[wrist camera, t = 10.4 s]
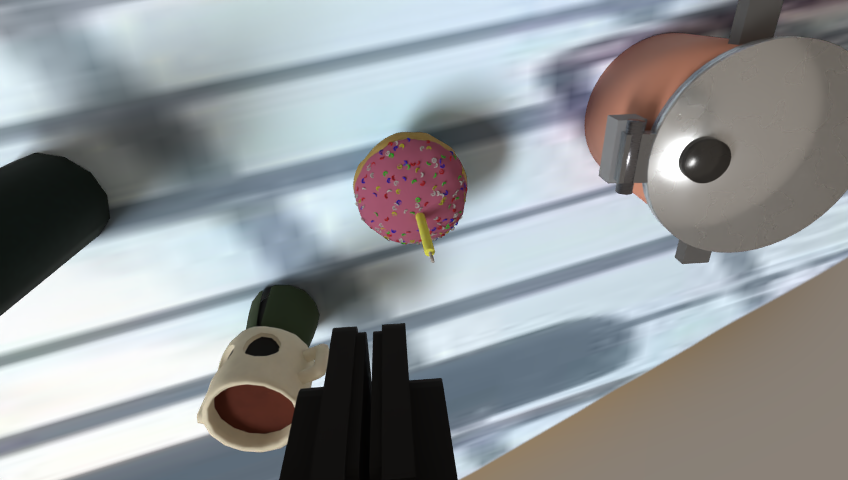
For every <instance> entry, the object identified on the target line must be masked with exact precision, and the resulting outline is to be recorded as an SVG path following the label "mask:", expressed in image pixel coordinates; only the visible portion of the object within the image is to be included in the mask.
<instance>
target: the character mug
mask: <svg viewBox="0 0 848 480" xmlns="http://www.w3.org/2000/svg"><path fill="white" fill-rule="evenodd" d="M262 293H263V291H261V292H259V294H258V295H257V296H256V298H255V299H254V300H253V301H252V305H251V308H250V312H249V316H248V321H247V327H246V330H244V331H242V332H241V333H240V334H239V335H238V336H237V337H235V338H234V339H233V340H232V341H231V342H230V344H229V345H228V347H227V348H226V350H225V352H224V353H223V356H222V358H221V361H220V363H219V368H218V371H217V373H216V374H215V376H214V377H213V379H212V380H211V383H210V386H209V389H208V392H207V394H206V396H205V398H204V400H203V403H202V405H201V407H200V409H199V412H198V414H197V421H198V423H201V424H204V425H205V427H206V428H207V430H208V432H209V433H210V435H211V436H213V437H214V438H215V439H217V440H218V441H220V442H221V443H222V444H224V445H226V446H229V447H232V448H235V449H238V450H241V451H250V452H266V451H270V450H275V449H280V448H282V447H283V446H285V445H287V442H288V437H289V432H290V428H291V423H292V418H293V414H294V409H295V404H296V400H297V396H298V392H299V390H300V389H303V388H311V384H312V381H314V380H316V379H319V378H320V377H322V376H324V375H325V373H326V369H327V363H328V356H329V348H328V345H326V344H319V345H317V346H314V347H312V348H309V346H310V344H311V341H312V339H313V337H314V334H315V331H316V328H317V325H318V320H319V312H318V309H317V306H316V304H315V302H314V301H313V300H312V299H311V297H310V296H309V295H308V294H307V293H306V292H305V291H303V290H301V289H298V288H296V287H293V286H290V285H275V286H272V287H271V290H270V294H269V296H267V297H266V298H265V299H263V300H262V301H261V297H262ZM260 301H261V302H260ZM314 360H315V362H314Z"/></svg>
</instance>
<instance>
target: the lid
mask: <svg viewBox="0 0 848 480" xmlns="http://www.w3.org/2000/svg"><path fill="white" fill-rule="evenodd" d="M645 123H646V121H645V120H642V119H628V120H627V125H626V130H625V131H621V137H620V143H619V149H618V155H617V162H616V168H615V174H614V180H615V181H616V182H617V183H616V189H615V191H616V192H617V193H619V194H624V195H628V194H632V192H633V187H634V183H642V186H643V192H644V195H645V198H646V201H647V204H648V206H649V208H650V210H651V211H652V213H653V215H654V216H655V217H656V219H657V220H658V221H659V222H660V223H661V224H662V225H663V226H664V227H665V228H666V229H667V230H668V231H669V232H671V233H672V234H673V235H674V236H675V237H677V238H678V239H680V240H681V241H683V242H684V243H686V244H689V245H691V246H693V247H696V248H699V249H703V250H706V251H713V252H727V253H731V252H743V251H748V250H754V249H758V248H761V247H765V246H768V245H771V244H774V243H776V242H779V241H781V240H784V239H786V238H788V237H790V236H792V235H793V234H795V233H797V232H799V231H801V230H802V229H804V228H805V227H807V226H808V225H810V224H811V223H813V222H814V221H815V220H817V219H818V218H819V217H821V216H822V215H823V214H824V213H825V212H826V211H828V210H829V209H830V208H831V207H832V206H833V205H834V204H835V203H836V202H837V201H838V200H839V199H840V198H841V197H842V195H843V194H844V193H845V192H846V191H847V189H848V51H847V50H845V49H843V48H842V47H840V46H838V45H835V44H833V43H830V42H828V41H823V40H819V39H814V38H806V37H793V36H779V37H769V38H764V39H759V40H755V41H751V42H748V43H745V44H743V45H740V46H737V47H735V48H733V49H731V50H729V51H726V52H724V53H722V54H720V55H719V56H717V57H716V58H714V59H712V60H711V61H709V62H708V63H706V64H705V65H703V66H702V67H701V68H700V69H698V70H697V71H696V72H694V73H693V74H692V75H691V76H690V77H689V78H688V79H687V80H686V81H685V82H684V83H683V84H682V85H681V86H679V88H678V89H677V90H676V91H675V92H674V94H673V95H672V96H671V97H670V98H669V100H668V101H667V102H666V104H665V105H664V107H663V108H662V110H661V111H660V113H659V115H658V116H657V118H656V120H655V122H654V124H653V126H652V128H651V130H648V131H644V128H645Z"/></svg>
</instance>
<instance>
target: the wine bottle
mask: <svg viewBox="0 0 848 480" xmlns="http://www.w3.org/2000/svg"><path fill="white" fill-rule="evenodd" d="M109 219H110V216H109V207H108V199H107V195H106V193H105V192H104V190H103V189H102V188H101V186H100V185H99V184H98V182H97V181H96V179H95V178H94V177H93V175H92V174H91V173H90V172H88V171H87V170H85V169H83V168H82V167H80V166H78V165H77V164H75V163H73V162H72V161H70V160H68V159H67V158H65V157H60V156H53V155H46V154H39V153H34V154H32V155H29V156H26V157H24V158H21V159H19V160H16V161H14V162H12V163H9V164H7V165H5V166H3V167H1V168H0V316H1V315H2V314H3V313H4V312H6V311H7V310H8V309H9V308H11V307H12V306H13V305H14V304H15V303H17V302H18V301H19V300H20V299H22V298H23V297H24V296H25V295H27V294H28V293H29V292H30V291H31V290H33V289H34V288H35V287H36V286H38V285H39V284H40V283H41V282H42V281H44V280H45V279H46V278H47V277H49V276H50V275H51V274H52V273H53V272H55V271H56V270H57V269H58V268H60V267H61V266H62V265H63V264H64V263H66V262H67V261H68V260H69V259H71V258H72V257H73V256H74V255H76V254H77V253H78V252H79V251H80V250H82V249H83V248H84V247H85V246H87V245H88V244H89V243H90V242H91V241H93V240H94V239H95V238H96V237H98V236H99V234H100V233H101V231H102V230H103V228H104V226H105V225H106V223H107V222H108V220H109Z"/></svg>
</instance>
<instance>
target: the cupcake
mask: <svg viewBox="0 0 848 480" xmlns="http://www.w3.org/2000/svg"><path fill="white" fill-rule="evenodd" d="M353 189H354V193H355V198H356V206H358V208H359V212H360V215H361V217H362V218H361V219H362V220H363V221H364V222H365V223H366V224H367V225H368V226H369V227H370V228H371V229H373V230H375V231H376V232H377V233H379V234H380V235H382V236H383V237H384V238H386V239H387V240H388V241H390V240H391V241H394V242H399V243H402V244H412V243H416V244H420V243H421V244H423V248H424V252H425V254H426V255H427V256H430V259H431V262H432V263H434V258H433V255H434V253H435V250H434V246H433V243H432V240H437V238H442V236H445V234H447V233H448V232H449V230H451V231H453V230H454V228H455V227H454V226H455V225H457V224H458V221H459V219H461V218H462V215H463V210H464V204H465V202H466V200H465V199H466V193H467V177H466V173H465V170H464V168H463V166H462V164H461V162H460V160H459V159H458V158H457V156H456V154H455V152H454V151H453V149H452V148H451V147H449V146H448V145H446V144H445V143H443V142H441V141H440V140H438V139H436V138H435V137H433V136H431V135H429V134H427V133H422V132H400V133H396V134H393V135H391V136H389V137H387V138H385V139H384V140H382V141H381V142H380V143H379V144H377V145H376V146H375V147H374V148H373V149H372V150H371V152H370V153H369V154H368V155H367V156H366V158H365V159H364V160H363V161H362V162H361V163H360V164H359V166H358V168H357V170H356V173H355V176H354V182H353ZM452 229H453V230H452Z"/></svg>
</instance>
